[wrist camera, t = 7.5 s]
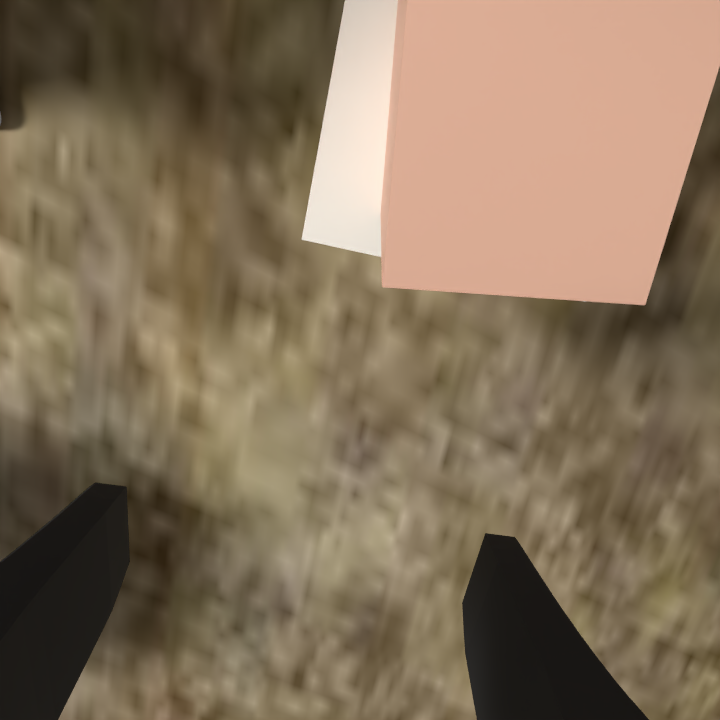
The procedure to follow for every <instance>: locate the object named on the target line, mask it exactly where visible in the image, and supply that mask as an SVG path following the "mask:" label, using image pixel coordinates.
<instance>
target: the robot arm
mask: <svg viewBox="0 0 720 720" xmlns="http://www.w3.org/2000/svg"><path fill="white" fill-rule="evenodd" d="M0 124H1V113H0ZM129 562H130V558H129V533H128V509H127V487H125V486H117V485H109V484H102V483H94V484H93V485H91V486H90V487H89V488H88V489H86V490H85V491H84V492H83V493H82V494H81V495H79V496H78V497H77V498H76V499H75V500H74V501H73V502H71V503H70V504H69V505H68V506H67V507H66V508H65V509H63V510H62V511H61V512H60V513H59V514H58V515H56V516H55V517H54V518H53V519H52V520H51V521H49V522H48V523H47V524H46V525H45V526H43V527H42V528H41V529H40V530H39V531H38V532H36V533H35V534H34V535H33V536H31V537H30V538H29V539H28V540H27V541H25V542H24V543H23V544H22V545H20V546H19V547H18V548H17V549H15V550H14V551H13V552H12V553H11V554H9V555H8V556H7V557H6V558H4V559H3V560H2V561H1V562H0V720H58V719H59V717H60V715H61V713H62V711H63V709H64V707H65V705H66V703H67V701H68V699H69V697H70V695H71V693H72V691H73V689H74V687H75V685H76V683H77V681H78V679H79V677H80V675H81V673H82V671H83V669H84V667H85V665H86V663H87V661H88V659H89V657H90V655H91V653H92V651H93V648H94V646H95V644H96V642H97V640H98V638H99V636H100V634H101V632H102V630H103V628H104V626H105V624H106V622H107V620H108V618H109V616H110V614H111V612H112V609H113V607H114V604H115V601H116V598H117V596H118V593H119V590H120V588H121V585H122V582H123V579H124V576H125V573H126V570H127V568H128V565H129ZM462 605H463V625H464V640H465V654H466V660H467V666H468V671H469V677H470V683H471V689H472V694H473V700H474V705H475V711H476V716H477V720H649V719H648V718H647V717H646V716H645V715H644V714H643V712H642V711H641V710H640V709H639V708H638V707H637V706H636V705H635V703H634V702H633V701H632V700H631V699H630V698H629V697H628V695H627V694H626V693H625V692H624V691H623V689H622V688H621V687H620V686H619V685H618V683H617V682H616V681H615V680H614V678H613V677H612V676H611V675H610V673H609V672H608V671H607V670H606V668H605V667H604V666H603V664H602V663H601V662H600V661H599V659H598V658H597V657H596V655H595V654H594V653H593V651H592V650H591V649H590V647H589V646H588V645H587V643H586V642H585V641H584V639H583V638H582V636H581V635H580V634H579V632H578V631H577V629H576V628H575V627H574V625H573V624H572V622H571V621H570V619H569V618H568V617H567V615H566V614H565V612H564V611H563V609H562V608H561V607H560V605H559V604H558V602H557V601H556V599H555V598H554V596H553V595H552V593H551V592H550V590H549V589H548V587H547V586H546V584H545V582H544V581H543V579H542V578H541V576H540V575H539V573H538V572H537V570H536V569H535V567H534V565H533V564H532V562H531V561H530V559H529V558H528V556H527V555H526V553H525V551H524V550H523V548H522V547H521V545H520V544H519V542H518V541H517V539H516V538H515V537H510V536H502V535H494V534H487V533H485V536H484V539H483V542H482V545H481V548H480V551H479V554H478V557H477V560H476V563H475V566H474V569H473V572H472V575H471V578H470V581H469V584H468V587H467V590H466V593H465V596H464V599H463V602H462Z"/></svg>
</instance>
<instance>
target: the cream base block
mask: <svg viewBox="0 0 720 720" xmlns="http://www.w3.org/2000/svg"><path fill="white" fill-rule="evenodd" d="M397 5H398V0H345V3H344V9H343V14H342V20H341V25H340V31H339V36H338V42H337V47H336V53H335V58H334V64H333V69H332V75H331V81H330V86H329V92H328V97H327V103H326V108H325V114H324V119H323V125H322V130H321V136H320V141H319V147H318V152H317V158H316V163H315V169H314V175H313V180H312V186H311V191H310V197H309V202H308V208H307V213H306V219H305V224H304V230H303V235H302V240H307V241H311V242H316V243H320V244H325V245H329V246H334V247H338V248H343V249H347V250H352V251H356V252H361V253H366V254H370V255H375V256H379V257H381V219H380V214H381V201H382V189H383V177H384V165H385V152H386V140H387V128H388V116H389V103H390V91H391V79H392V67H393V54H394V42H395V30H396V18H397ZM583 302H587V301H583Z"/></svg>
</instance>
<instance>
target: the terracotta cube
mask: <svg viewBox="0 0 720 720" xmlns="http://www.w3.org/2000/svg"><path fill="white" fill-rule="evenodd" d="M719 67H720V0H398V5H397V18H396V30H395V42H394V54H393V67H392V79H391V91H390V103H389V116H388V128H387V140H386V152H385V165H384V177H383V189H382V201H381V214H380V219H381V262H382V287H388V288H403V289H417V290H432V291H446V292H460V293H475V294H489V295H504V296H518V297H533V298H547V299H561V300H576V301H590V302H605V303H619V304H634V305H645V304H646V301H647V298H648V294H649V291H650V288H651V285H652V282H653V278H654V275H655V272H656V269H657V266H658V262H659V259H660V256H661V253H662V250H663V246H664V243H665V240H666V237H667V234H668V230H669V227H670V224H671V221H672V218H673V214H674V211H675V208H676V205H677V202H678V198H679V195H680V192H681V189H682V185H683V182H684V179H685V176H686V173H687V169H688V166H689V163H690V160H691V157H692V153H693V150H694V147H695V144H696V141H697V137H698V134H699V131H700V128H701V125H702V121H703V118H704V115H705V112H706V109H707V105H708V102H709V99H710V96H711V93H712V89H713V86H714V83H715V80H716V77H717V73H718V70H719Z"/></svg>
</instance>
